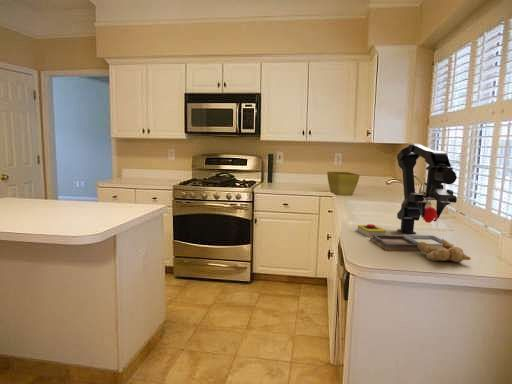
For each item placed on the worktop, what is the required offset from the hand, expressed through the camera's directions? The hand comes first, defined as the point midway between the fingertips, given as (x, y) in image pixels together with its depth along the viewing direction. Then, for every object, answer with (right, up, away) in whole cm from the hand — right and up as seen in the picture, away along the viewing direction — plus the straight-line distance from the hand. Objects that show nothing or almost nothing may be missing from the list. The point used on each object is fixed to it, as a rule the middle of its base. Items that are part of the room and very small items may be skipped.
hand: (430, 217), depth 160 cm
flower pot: (-6, +9, +139) cm, 139 cm away
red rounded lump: (0, -2, 0) cm, 2 cm away
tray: (-1, -11, +2) cm, 11 cm away
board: (-17, -11, -5) cm, 21 cm away
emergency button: (-21, -9, +13) cm, 26 cm away
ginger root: (-5, -14, -21) cm, 26 cm away
